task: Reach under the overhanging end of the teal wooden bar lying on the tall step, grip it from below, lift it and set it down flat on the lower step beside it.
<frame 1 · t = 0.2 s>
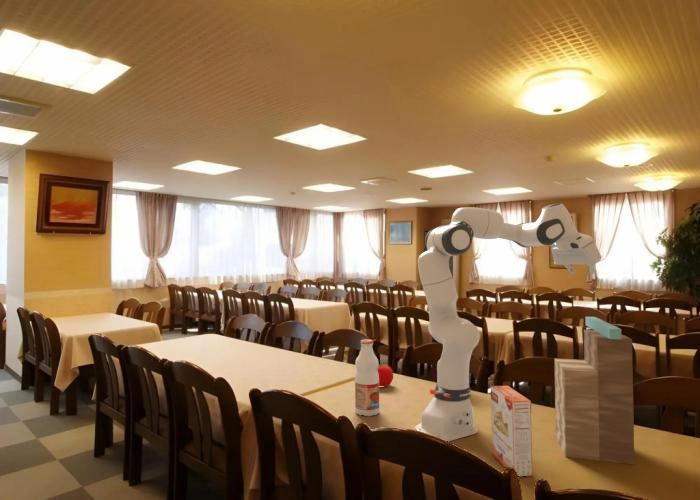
hand: (583, 273, 163), 54 cm above the table, tool tilted 30°, fingers open, 8 cm apart
fruit juice: (367, 412, 163), on the table
candy bar box: (454, 392, 188), on the table
step stand: (592, 449, 130), on the table
teal bar: (601, 331, 134), point 36 cm above the table, touching step stand
cracker box: (510, 465, 121), on the table
tomato: (381, 386, 197), on the table
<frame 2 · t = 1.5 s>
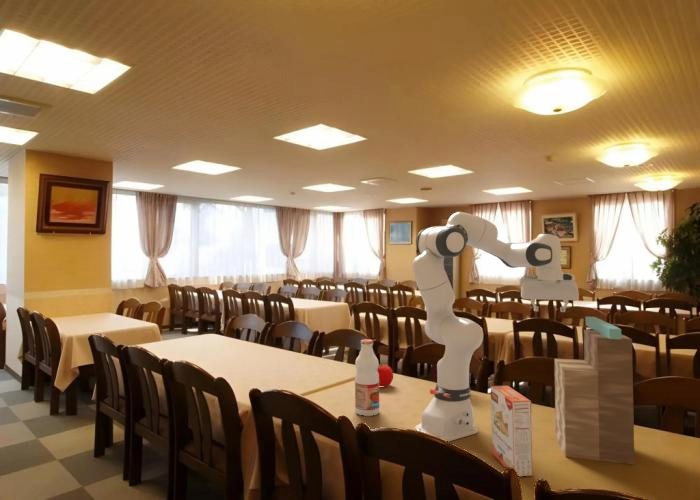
hand: (549, 311, 162), 39 cm above the table, tool pointing down, fingers open, 8 cm apart
nothing on the table moved.
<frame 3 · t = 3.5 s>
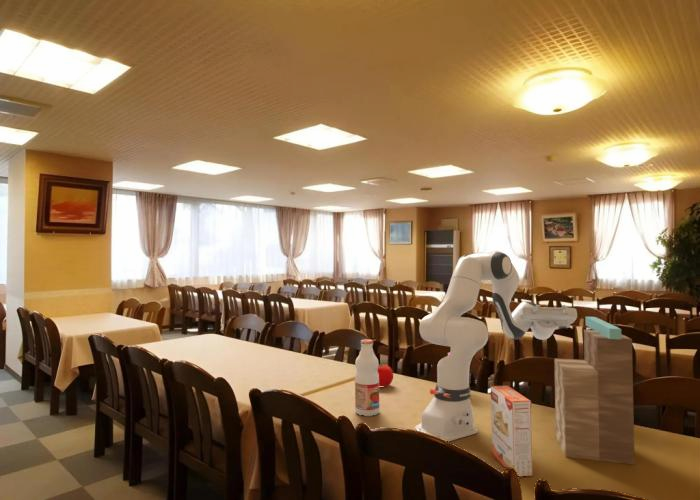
hand: (551, 306, 165), 41 cm above the table, tool pointing upward, fingers open, 8 cm apart
nothing on the table moved.
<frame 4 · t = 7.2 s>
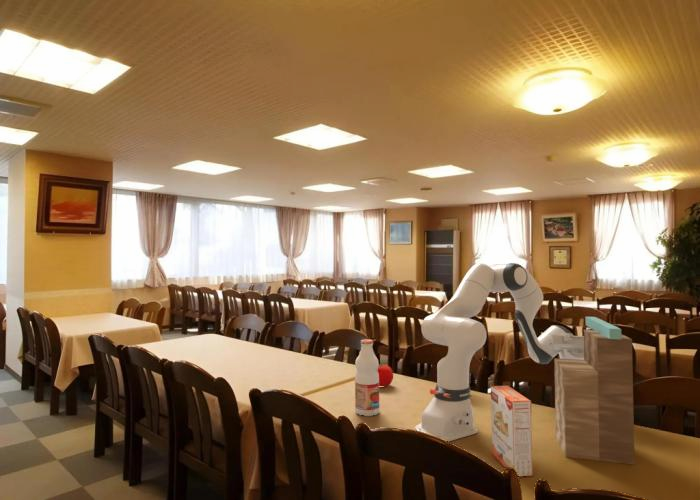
hand: (585, 336, 154), 31 cm above the table, tool pointing upward, fingers open, 8 cm apart
nothing on the table moved.
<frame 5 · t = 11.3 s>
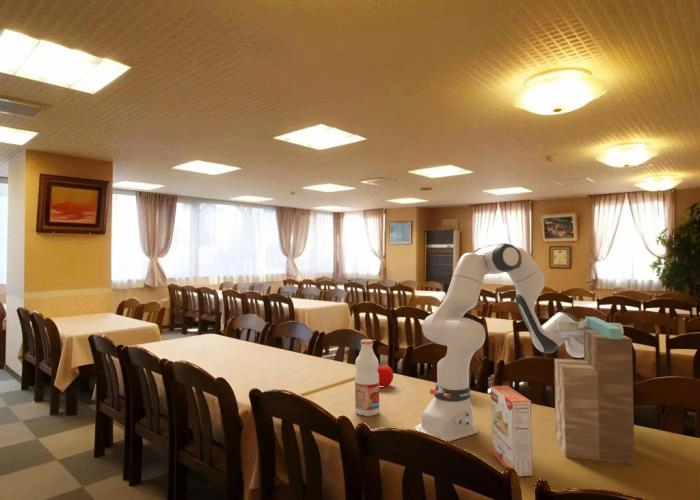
hand: (594, 321, 142), 38 cm above the table, tool pointing upward, fingers closed on teal bar, 3 cm apart
teal bar: (601, 331, 134), point 36 cm above the table, touching gripper, step stand
everything else where it was.
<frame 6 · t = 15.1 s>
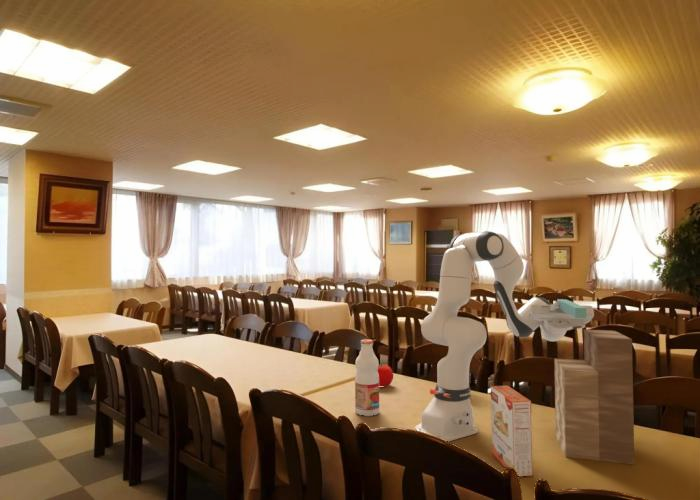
hand: (564, 303, 145), 44 cm above the table, tool pointing upward, fingers closed on teal bar, 3 cm apart
teal bar: (570, 312, 137), point 42 cm above the table, touching gripper
everything else where it was.
when the fingers open (30 cm above the table, at t = 18.6 s): teal bar drops 2 cm, resting on step stand.
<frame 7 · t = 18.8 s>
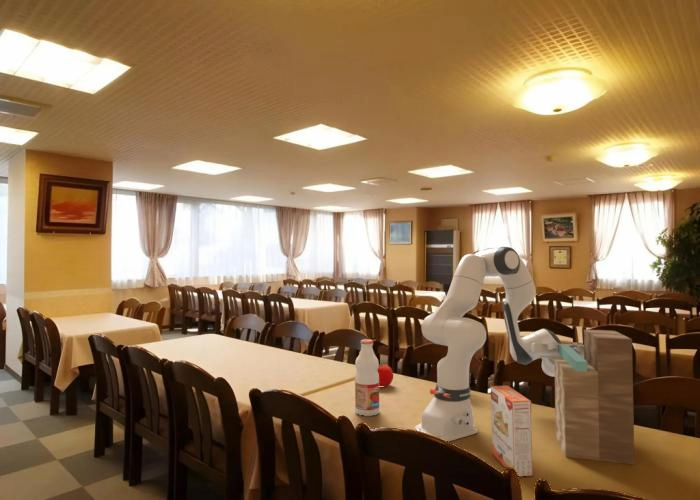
hand: (565, 344, 145), 30 cm above the table, tool pointing upward, fingers open, 5 cm apart
teal bar: (571, 361, 137), point 26 cm above the table, touching step stand
everything else where it was.
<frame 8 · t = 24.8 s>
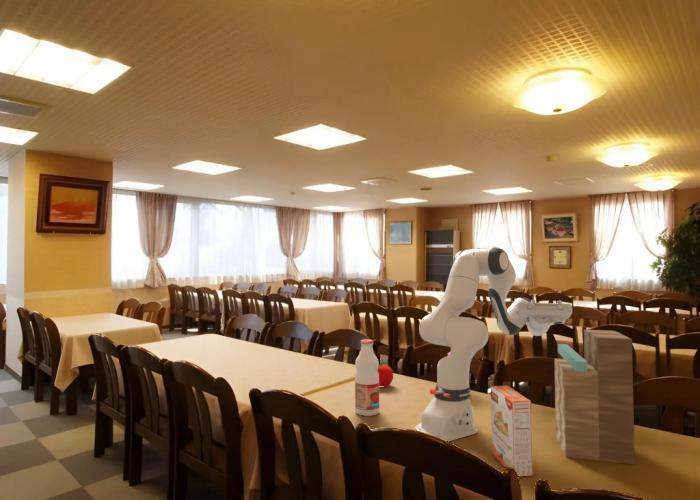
hand: (546, 301, 164), 42 cm above the table, tool pointing upward, fingers open, 8 cm apart
nothing on the table moved.
at the end: teal bar inside the target area on the step stand (0.2 cm from its centre), point 26.0 cm above the step stand's base; teal bar tilted 0°; the gripper is holding nothing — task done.
